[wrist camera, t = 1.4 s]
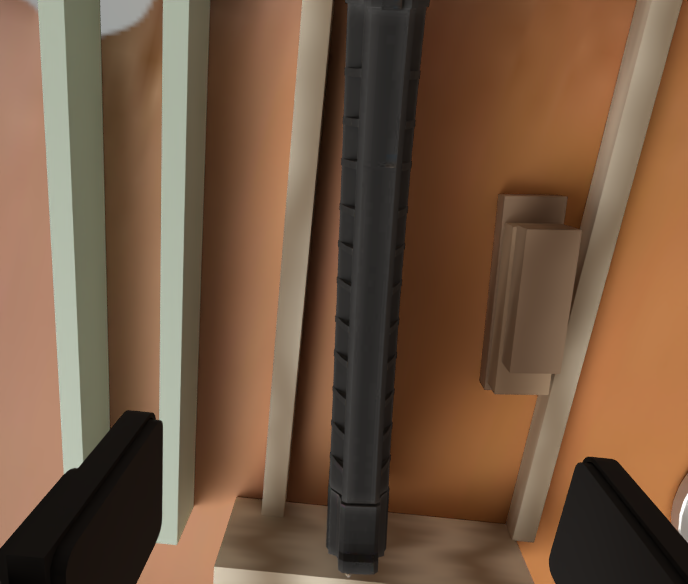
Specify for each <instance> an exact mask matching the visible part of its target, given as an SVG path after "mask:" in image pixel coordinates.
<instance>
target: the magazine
mask: <svg viewBox="0 0 688 584" xmlns="http://www.w3.org/2000/svg"><path fill="white" fill-rule="evenodd" d="M429 2H430V0H345V3H348V9H347V37H346V66H345V94H344V117H343V148H342V158H341V165H342V175H341V201H340V209H339V210H340V227H339V240H338V247H339V254H338V277H337V305H336V316H335V322H336V331H335V350H334V382H333V407H332V419H331V425H332V432H331V452H330V471H329V484H328V508H327V532H326V547H327V549H328V554H331V555H334V556H336V557H337V559H338V571H340V572H341V573H344V574H345V575H346V576H347V577H350V576H351V575H352V574H363V575H374V574H375V573H377V572H378V558H379V557H382V556H384V551H385V550H386V544H387V524H388V504H389V467H390V460H391V455H390V448H391V430H392V424H393V422H392V413H393V396H394V390H395V388H394V380H395V365H396V358H397V352H396V350H397V335H398V325H399V307H400V293H401V286H402V267H403V255H404V249H405V243H404V242H405V230H406V217H407V213H408V206H407V205H408V193H409V181H410V169H411V166H412V161H411V158H412V147H413V136H414V127H415V122H416V120H415V114H416V104H417V94H418V84H419V79H420V64H421V54H422V44H423V35H424V25H425V15H426V7H429Z"/></svg>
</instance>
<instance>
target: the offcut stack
mask: <svg viewBox="0 0 688 584" xmlns="http://www.w3.org/2000/svg"><path fill="white" fill-rule="evenodd" d="M567 198H568V197H567V196H562V195H542V194H498V203H497V213H496V223H495V233H494V243H493V252H492V262H491V272H490V282H489V292H488V302H487V312H486V321H485V331H484V341H483V351H482V361H481V371H480V383H481V385H482V386H483V388H484V390H492V391H493V392H494V394H514V395H548V394H549V387H550V380H551V374H560V373H561V366H562V360H563V353H564V347H565V340H566V334H567V327H568V320H569V314H570V307H571V301H572V294H573V288H574V281H575V275H576V268H577V261H578V255H579V248H580V242H581V235H582V230H580V229H577V228H575V227H572V226H567V225H564V219H565V212H566V205H567Z"/></svg>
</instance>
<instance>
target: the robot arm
mask: <svg viewBox="0 0 688 584" xmlns="http://www.w3.org/2000/svg"><path fill="white" fill-rule="evenodd" d="M162 495H163V422H162V421H161V420H156V418H155V414H154V413H150V412H140V411H130V410H128V411H126V412H124V413H123V415H122V416H121V417H120V418H119V419H118V421H117V422H116V423H115V424H114V425H113V427H112V428H111V429H110V430H109V431H108V433H107V434H106V435H105V436H104V437H103V439H102V440H101V441H100V442H99V443H98V445H97V446H96V447H95V448H94V449H93V451H92V452H91V453H90V454H89V455H88V457H87V458H86V459H85V460H84V461H83V463H82V464H81V465H80V466H79V467H78V468H73V469H70V470H68V471H67V472H66V473H65V474H64V475H63V476H62V477H61V478H60V480H59V481H58V482H57V483H56V484H55V485H54V487H53V488H52V489H51V490H50V491H49V492H48V494H47V495H46V496H45V497H44V498H43V499H42V501H41V502H40V503H39V504H38V505H37V506H36V508H35V509H34V510H33V511H32V512H31V513H30V514H29V516H28V517H27V518H26V519H25V520H24V521H23V523H22V524H21V525H20V526H19V527H18V528H17V530H16V531H15V532H14V533H13V534H12V535H11V537H10V538H9V539H8V540H7V541H6V542H5V544H4V545H3V546H2V547H1V548H0V584H136V583H137V581H138V579H139V577H140V575H141V573H142V571H143V568H144V566H145V564H146V562H147V560H148V558H149V556H150V554H151V552H152V550H153V548H154V546H155V543H156V541H157V539H158V537H159V534H160V530H161V526H162ZM671 523H672V524H671ZM671 523H670V522H669V520H668V519H667V518H666V517H665V516H664V515H663V513H662V512H661V511H660V510H659V509H658V508H657V507H656V505H655V504H654V503H653V502H652V501H651V500H650V498H649V497H648V496H647V495H646V494H645V493H644V492H643V490H642V489H641V488H640V487H639V486H638V485H637V483H636V482H635V481H634V480H633V479H632V478H631V477H630V475H629V474H628V473H627V472H626V471H625V470H624V468H623V467H622V466H621V465H620V464H619V463H618V462H617V461H616V460H614V459H607V458H597V457H586V458H585V459H584V460H583V463H581V462H580V463H578V464H577V465H576V467H575V470H574V473H573V477H572V480H571V484H570V487H569V491H568V494H567V497H566V501H565V504H564V508H563V511H562V515H561V518H560V522H559V525H558V529H557V532H556V536H555V539H554V542H553V546H552V549H551V553H550V557H549V567H550V572H551V575H552V577H553V579H554V581H555V583H556V584H688V473H687V475H686V476H685V478H684V479H683V481H682V482H681V484H680V486H679V488H678V491H677V493H676V495H675V498H674V501H673V506H672V512H671Z"/></svg>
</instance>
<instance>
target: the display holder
mask: <svg viewBox="0 0 688 584" xmlns="http://www.w3.org/2000/svg"><path fill="white" fill-rule="evenodd" d="M38 13H39V31H40V49H41V67H42V86H43V104H44V122H45V140H46V158H47V176H48V194H49V212H50V231H51V249H52V267H53V285H54V303H55V321H56V339H57V358H58V376H59V394H60V412H61V430H62V448H63V466H64V474H65V473H66V472H67V471H68V470H70V469H73V468H78V467H79V466H80V465H81V464H82V463H83V461H84V460H85V459H86V458H87V457H88V455H89V454H90V453H91V452H92V451H93V449H94V448H95V447H96V446H97V445H98V443H99V442H100V441H101V440H102V439H103V437H104V436H105V435H106V434H107V433H108V431H109V430H110V408H109V366H108V323H107V280H106V237H105V195H104V152H103V109H102V67H101V26H100V25H101V24H100V0H38ZM209 24H210V0H163V65H162V178H161V292H160V405H159V420H161V421H162V422H163V495H162V526H161V530H160V534H159V537H158V539H157V541H156V543H162V544H172V545H177V544H178V542H179V539H180V537H181V535H182V532H183V530H184V528H185V525H186V523H187V521H188V518H189V516H190V514H191V512H192V509H193V507H194V479H195V449H196V419H197V388H198V358H199V327H200V297H201V267H202V236H203V206H204V176H205V145H206V115H207V84H208V54H209Z"/></svg>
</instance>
